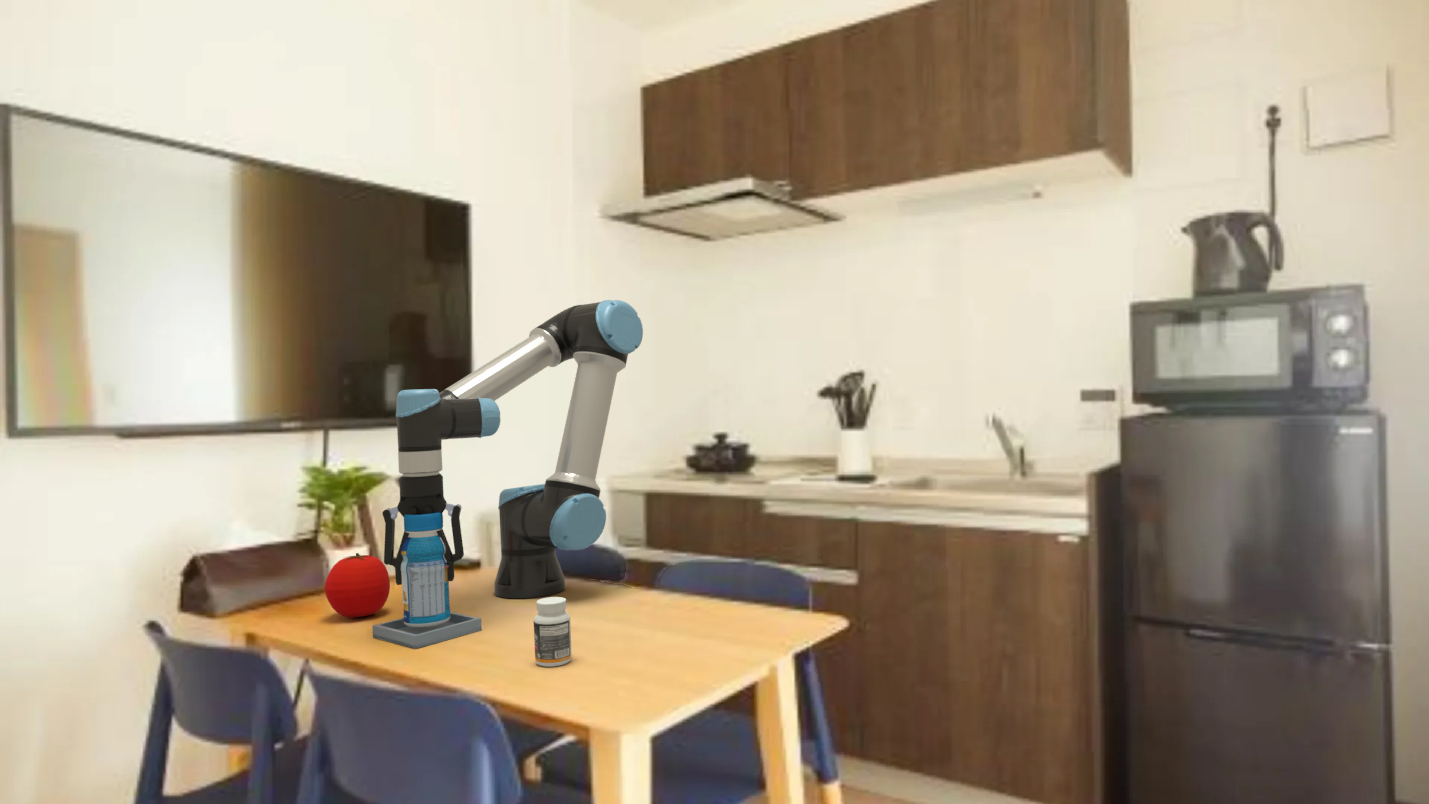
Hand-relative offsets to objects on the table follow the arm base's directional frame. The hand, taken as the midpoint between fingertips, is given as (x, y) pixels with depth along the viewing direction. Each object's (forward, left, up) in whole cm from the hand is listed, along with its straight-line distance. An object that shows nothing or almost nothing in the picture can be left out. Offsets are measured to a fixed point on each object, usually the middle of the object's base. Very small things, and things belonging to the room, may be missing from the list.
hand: (426, 600), depth 159 cm
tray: (0, 0, -6) cm, 6 cm away
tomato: (+16, -18, -6) cm, 25 cm away
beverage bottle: (0, 0, -4) cm, 4 cm away
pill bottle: (-23, +24, -6) cm, 34 cm away
